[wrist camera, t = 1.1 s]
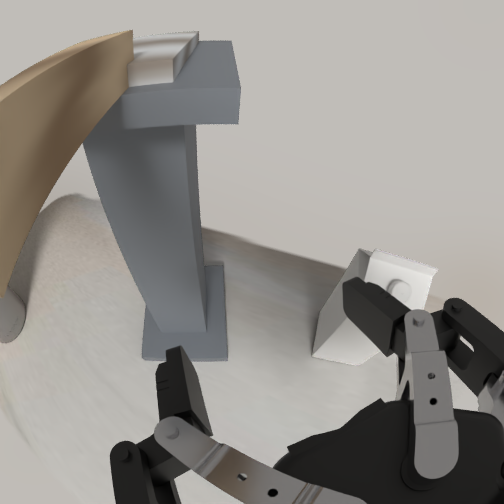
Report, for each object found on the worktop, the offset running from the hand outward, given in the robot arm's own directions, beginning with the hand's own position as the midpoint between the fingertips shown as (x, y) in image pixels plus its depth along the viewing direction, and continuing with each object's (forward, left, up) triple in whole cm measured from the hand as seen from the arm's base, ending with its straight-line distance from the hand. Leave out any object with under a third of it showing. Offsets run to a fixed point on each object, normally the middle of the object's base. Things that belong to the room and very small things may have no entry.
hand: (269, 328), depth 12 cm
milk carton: (+9, +13, -24) cm, 28 cm away
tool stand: (-12, +7, -23) cm, 27 cm away
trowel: (-10, +3, +9) cm, 13 cm away
